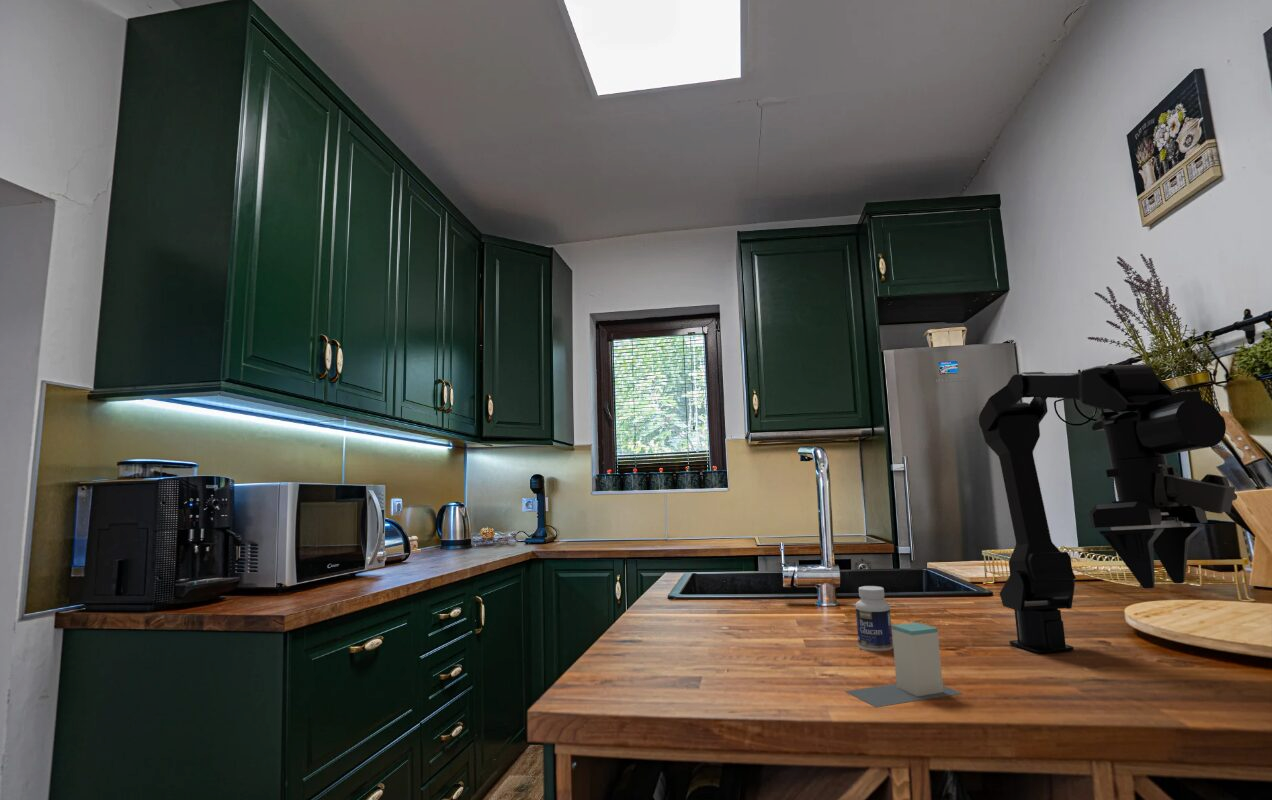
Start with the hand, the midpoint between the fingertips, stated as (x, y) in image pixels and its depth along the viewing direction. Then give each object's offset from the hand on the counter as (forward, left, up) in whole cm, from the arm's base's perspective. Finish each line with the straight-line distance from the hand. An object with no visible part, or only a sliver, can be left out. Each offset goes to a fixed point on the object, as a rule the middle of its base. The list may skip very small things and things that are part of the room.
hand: (1164, 585), depth 82 cm
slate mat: (-12, -29, -14) cm, 34 cm away
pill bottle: (-34, -21, -14) cm, 42 cm away
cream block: (-12, -27, -13) cm, 32 cm away
